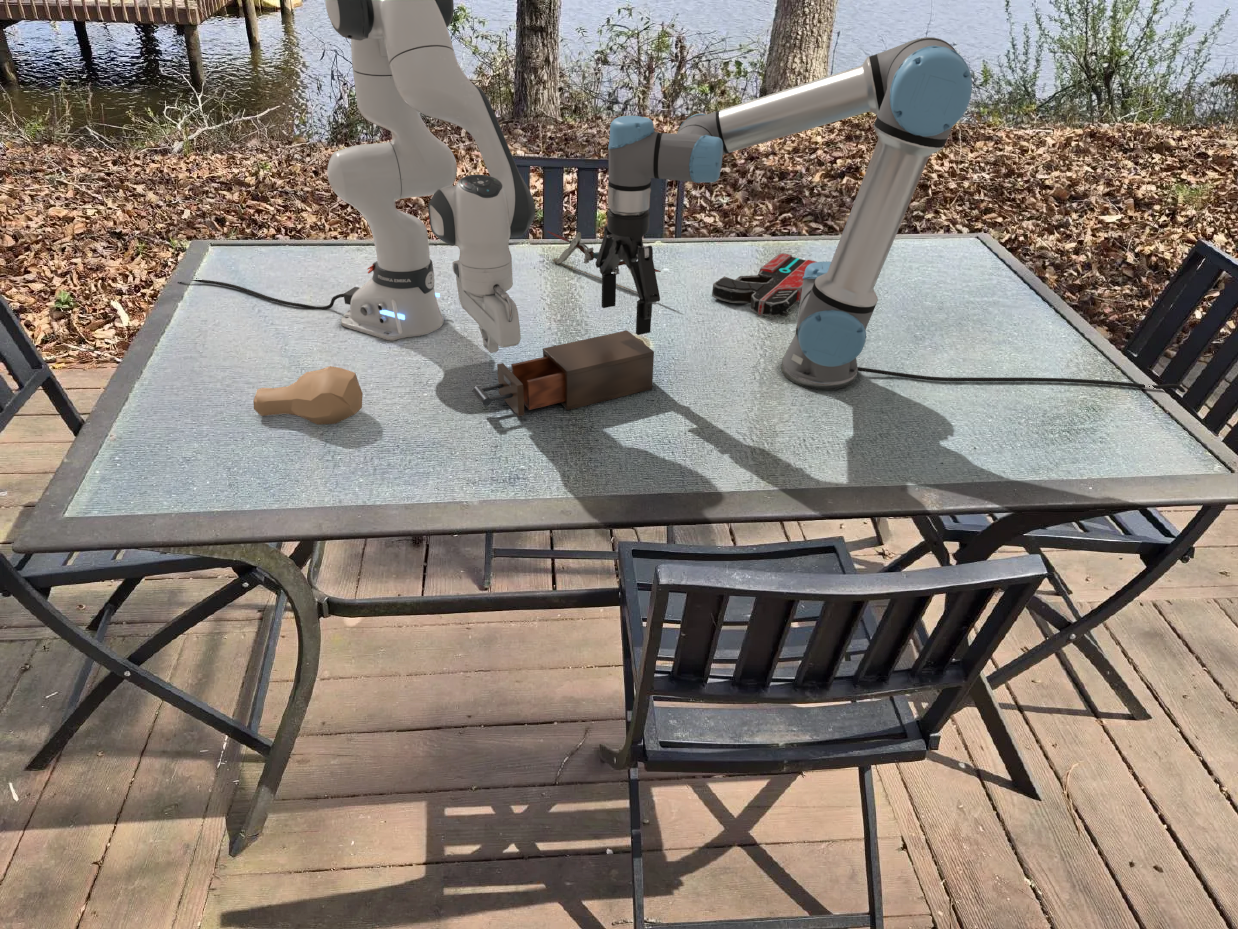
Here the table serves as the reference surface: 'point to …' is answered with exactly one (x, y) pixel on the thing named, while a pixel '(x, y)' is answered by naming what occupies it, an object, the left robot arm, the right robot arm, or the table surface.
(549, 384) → the drawer
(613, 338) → the cabinet
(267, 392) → the squash
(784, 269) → the gun
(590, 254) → the bow
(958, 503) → the table surface
